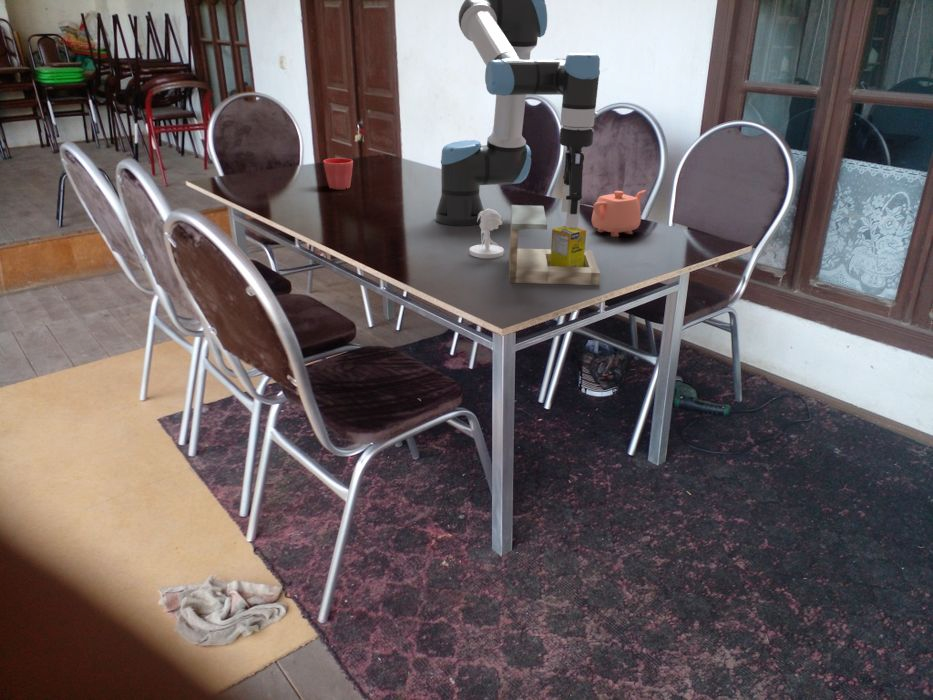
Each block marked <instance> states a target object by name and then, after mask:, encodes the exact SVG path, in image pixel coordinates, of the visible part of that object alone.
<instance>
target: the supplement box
mask: <svg viewBox="0 0 933 700" xmlns="http://www.w3.org/2000/svg"><path fill="white" fill-rule="evenodd" d="M586 237H587V230H586V229H584V228H579V227H578V228H572V227H566V225H564V226H559V227H555V228H553V229H552V230H551V245H550V249H551V260H550V265H549V266H559V267H584V266H583V265H584V253H585V250H586V249H585V248H586V241H587V240H586V239H587V238H586Z"/></svg>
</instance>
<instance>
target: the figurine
mask: <svg viewBox="0 0 933 700" xmlns="http://www.w3.org/2000/svg"><path fill="white" fill-rule="evenodd" d="M480 216H481V223H479V224H478V225H479V227H480V229H481V230H480V235H481V236H480V237H481V238H480V239H481V241H480V242H481V244H475V245H472V246H470V247H469V251H468V252H469V255H470V256H472V257H475V258H478V259H498V258H500V257H502V256H504V254H505V251H504V250H505V249H504V248H503V247H502V246H501V245H498V243H496V242H495V241H494V240H492V239H491V232H493V231H494V230H498V229H499V226H500V225H501V226H502V225H503V221H502V219H503V216H501V215H500V214H499V212H497V211H496V210H495V209H492V208H485V209H484V211H481V212H480V213H479V214H478V219H479V218H480ZM478 219H477V222H478Z"/></svg>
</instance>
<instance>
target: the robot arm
mask: <svg viewBox="0 0 933 700" xmlns="http://www.w3.org/2000/svg"><path fill="white" fill-rule="evenodd" d="M458 25H459V28H460V29H459V30H460V31H461V33H462V35H463V36H464V37H465V38H466V39H467V40H468V41H470V42H472V44H473V45H474V47H475V49H476V50H477V53H478V54H479V56H480V58H481V59H482V61H483V63H484V64H485V74H484V82H485V86H486V91H487V93H489V94H490V95H492V96H493V95H494V96H495V106H494V117H493V119H494V120H493V127H492V129H493V130H492V133H491V134H490V135H489V136H488V137H487V141H486V144H485V145H482V144H481V142H480V141H479V140H475V139H473V140H471V139H470V140H468V139H467V140H459V141H454V142H450V143H448V144H446V145H444V146H443V147H442V149H441V157H440V158H441V159H440V165H441V166H440V167H441V178H440V179H441V195H440V198H439V201H438V205H437V208H436V212H435V221H436V222H438V223H439V224H443V225H449V226H458V227H459V226H462V227H463V226H464V227H465V226H466V227H467V226H474V225H480V223H481V216H480V218H479V219H478V214H479V213H480V212H481V211H484V210H485V209H484V206H483V203H482V200H481V199H482V198H481V195H480V187H481V186H491V185H493V186H495V185H497V186H498V185H507V186H508V185H509V186H510V185H513V184H514V185H515V184H521V183H522V182H524V181H525V180H526V179H527V177H528V175H529V173H530V169H531V166H532V158H531V156H532V150H531V148H530V146H529V145H528V144H527V139H525V137H523V135H522V134H523V127H524V126H523V125H524V117H525V116H524V115H525V109H526V108H525V107H526V98H527V96H529V95H531V96H534V95H536V96H538V95H539V96H541V95H543V96H544V95H545V96H547V95H549V96H550V95H551V96H552V95H553V96H555V95H556V96H557V95H559V96H560V95H561V96H562V103H561V109H560V110H561V113H560V125H561V126H562V127H561V128H560V130H559V141H558V142H559V144H560V145H561V146H563V147H566V152H565V159H564V160H565V161H564V162H565V164H564V173H563V177H562V178H563V189H562V201H561V213H562V212H563V213H566V218H565V219H566V220H565V221H566V222H565V226H566V227H572V228H579V217H580V207H581V200H582V199H583V192H582V190H583V173H584V172H583V169H584V161H585V154H584V152H583V151H582V148H588V147H591V146H592V145H593V141H594V140H593V139H594V129H593V128H592V127H594V126H595V117H598V115H599V114H598V112H597V111H596V108H597V98H598V87H599V80H600V79H599V78H600V74H601V73H600V72H601V71H600V67H601V66H600V64H601V63H600V61H601V60H600V58H601V57H600V56H599V55H598V54H597V53H589V52H570V53H568V54H567V55H566V57H565V58H555V59H531V52H532V51H533V49H535V48H536V47H537V45H538V38H542V37H544V36H545V34H546V31H547V28H548V11H547V4H546V0H464V1H463V2H462V4H461V6H460V9H459V12H458ZM477 219H478V222H477Z"/></svg>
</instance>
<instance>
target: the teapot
mask: <svg viewBox="0 0 933 700" xmlns="http://www.w3.org/2000/svg"><path fill="white" fill-rule="evenodd" d="M646 191H647V190H646V189H644V190H640V191H638V192H637V194H636V195H635V196H632V195H629V194H625V193H624V191H622V190H615V191H614V192H613V193H609V194H604V195H600V196H599V197H598V198H597V201H596V202H594V203H593V210H592V215H591V223H592V226H593V227H594V228H596V232H597V231H598V233H605V232H606V233H607V232H608V233H610V237H613V238H617V237H619V236H620V234H619V233H625V235H626V234H627V235H633V234H634V232H633V230H634V231H635V230H636V229H638V228H639V226H640V225H641V220H642V219H641V218H642V214H641V213H642V212H641V210H642V209H641V200H642V197H643V195H644V193H646Z"/></svg>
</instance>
